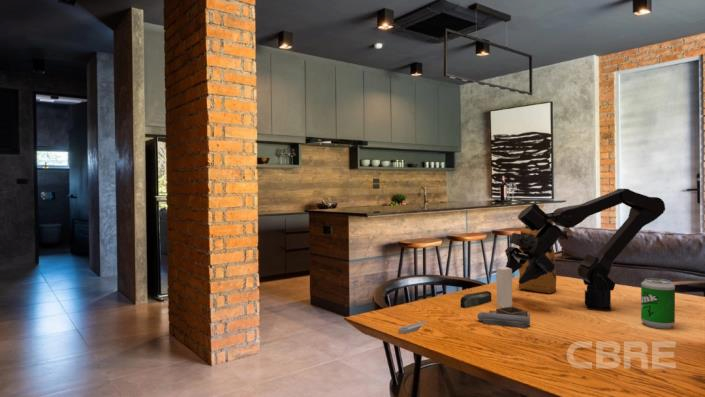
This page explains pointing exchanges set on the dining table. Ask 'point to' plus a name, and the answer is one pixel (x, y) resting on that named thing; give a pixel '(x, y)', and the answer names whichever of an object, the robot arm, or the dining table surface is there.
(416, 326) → the adjustable wrench
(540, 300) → the dining table surface
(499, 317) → the grey domed rod
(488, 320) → the clamp board
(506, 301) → the pin
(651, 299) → the soda can
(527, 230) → the coffee package
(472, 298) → the mobile phone
